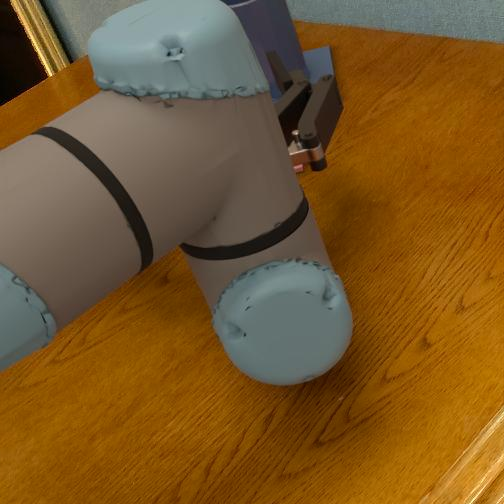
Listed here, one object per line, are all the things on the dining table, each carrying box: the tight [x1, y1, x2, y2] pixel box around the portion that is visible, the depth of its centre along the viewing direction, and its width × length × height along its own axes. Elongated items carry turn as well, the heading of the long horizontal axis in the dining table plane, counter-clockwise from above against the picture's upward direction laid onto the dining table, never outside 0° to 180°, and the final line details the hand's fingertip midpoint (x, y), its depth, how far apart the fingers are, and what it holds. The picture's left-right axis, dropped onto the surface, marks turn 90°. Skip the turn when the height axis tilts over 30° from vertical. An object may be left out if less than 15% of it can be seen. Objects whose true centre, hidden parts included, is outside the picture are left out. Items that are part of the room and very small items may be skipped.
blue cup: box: [220, 0, 310, 101], centre depth 94 cm, size 7×7×9 cm
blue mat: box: [273, 45, 336, 104], centre depth 97 cm, size 12×12×1 cm
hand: (194, 94), depth 79 cm, fingers open, 13 cm apart
